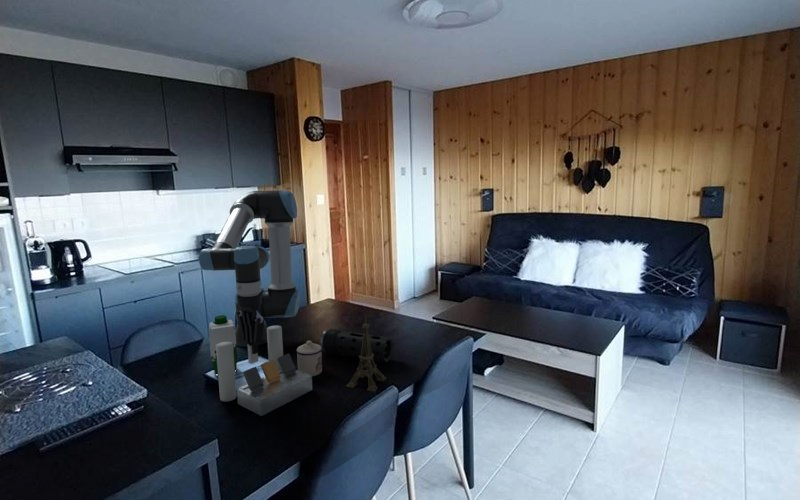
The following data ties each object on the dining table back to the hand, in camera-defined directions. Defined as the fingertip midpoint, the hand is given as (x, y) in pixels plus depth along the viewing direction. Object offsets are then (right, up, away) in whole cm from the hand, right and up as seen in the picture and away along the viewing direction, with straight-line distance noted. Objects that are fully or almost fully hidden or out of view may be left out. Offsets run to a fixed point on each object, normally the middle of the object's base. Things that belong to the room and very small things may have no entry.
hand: (253, 361), depth 145 cm
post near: (-6, -10, -5) cm, 13 cm away
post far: (+5, -8, +10) cm, 13 cm away
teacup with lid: (+16, -7, +14) cm, 23 cm away
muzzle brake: (+32, -5, +25) cm, 41 cm away
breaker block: (+9, -10, -5) cm, 14 cm away
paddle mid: (+9, -5, -6) cm, 12 cm away
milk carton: (-15, -7, +14) cm, 22 cm away
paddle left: (+5, -6, -11) cm, 13 cm away
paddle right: (+13, -4, -1) cm, 14 cm away
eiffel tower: (+38, -8, +5) cm, 39 cm away
